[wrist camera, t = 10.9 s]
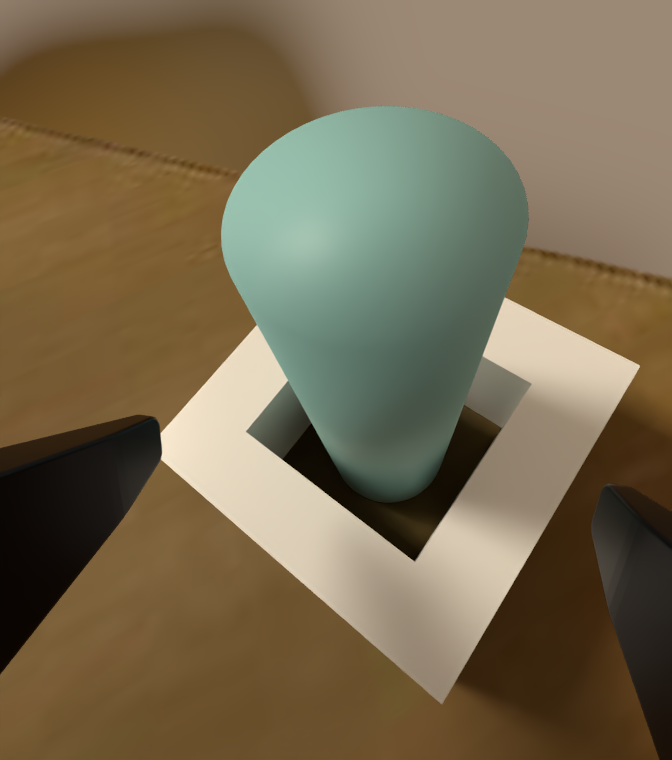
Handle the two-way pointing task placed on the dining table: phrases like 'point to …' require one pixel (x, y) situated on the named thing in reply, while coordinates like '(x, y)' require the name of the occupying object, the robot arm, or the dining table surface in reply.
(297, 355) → the teal dowel
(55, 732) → the dining table surface
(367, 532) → the well block
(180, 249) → the dining table surface
